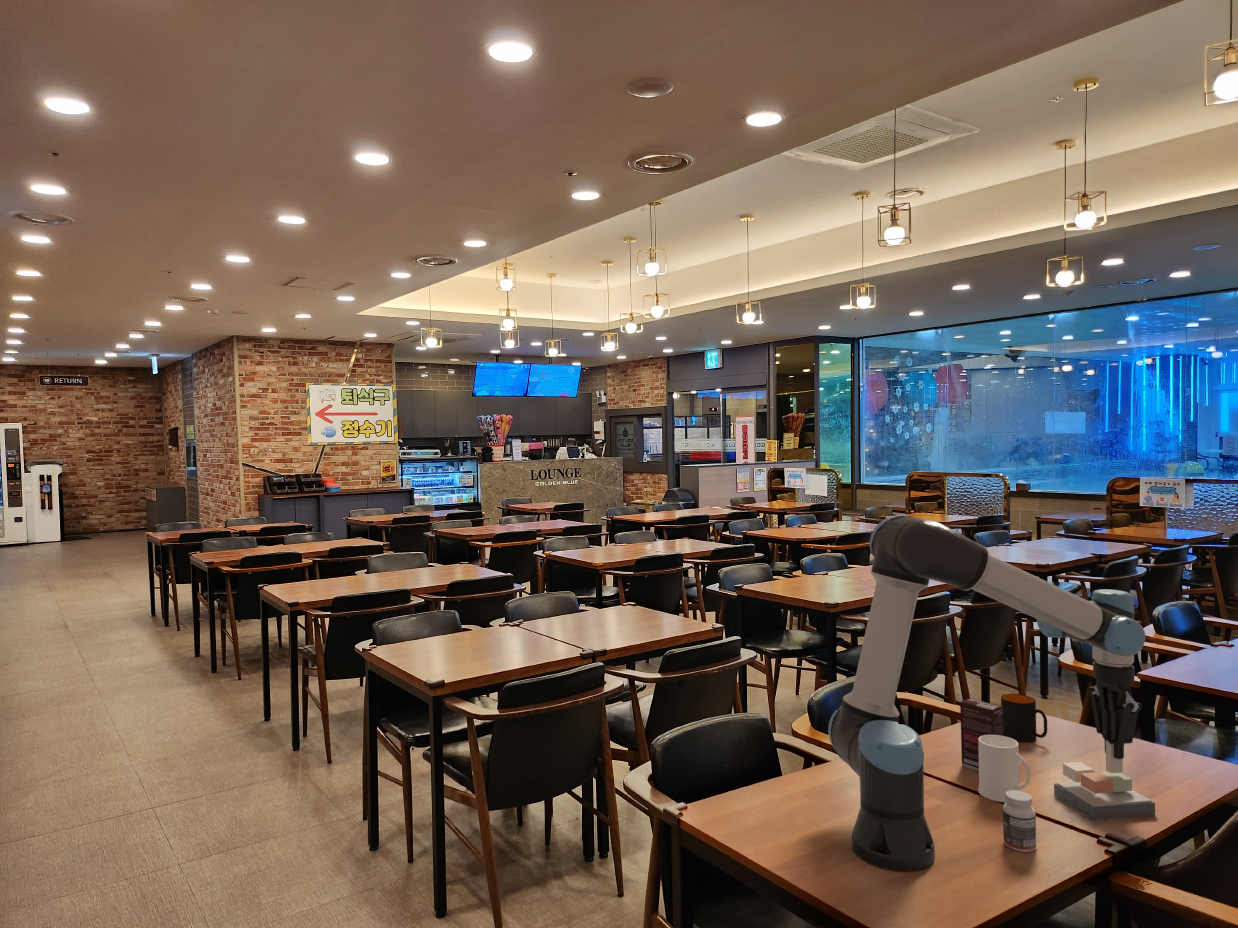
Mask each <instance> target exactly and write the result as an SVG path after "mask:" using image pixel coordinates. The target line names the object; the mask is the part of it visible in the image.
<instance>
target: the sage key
mask: <svg viewBox="0 0 1238 928" xmlns="http://www.w3.org/2000/svg"><path fill="white" fill-rule="evenodd" d="M1099 773H1101V774H1103V775H1105V776H1107V777H1109V778H1110V779H1112V780H1114V792H1123V791H1132V790H1133V779H1132V778H1131V777H1129V776H1126V775H1125V774H1123V773H1110V772H1108V771H1104V772H1103V771H1101V772H1100V771H1099Z"/></svg>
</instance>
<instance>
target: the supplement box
mask: <svg viewBox="0 0 1238 928" xmlns="http://www.w3.org/2000/svg"><path fill="white" fill-rule="evenodd" d="M959 706H960V708H959V711H960V712H959V713H960V744H961V745H960V746H961V766H962V767H963V768H966V769H967V768H968V769H970V770H974V771H977V772H979V744H978V739H979V737H980V736H983V735H1000V736H1004V730H1003V706H1001V705H999V704H995V703H990V702H986V701H983V700H979V699H975V698H966V699H964V700H961V701H960V702H959Z"/></svg>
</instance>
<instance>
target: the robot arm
mask: <svg viewBox="0 0 1238 928" xmlns="http://www.w3.org/2000/svg"><path fill="white" fill-rule="evenodd" d="M869 549H870V552H871V555H872V556H873V561H872V566H871V572H870V573H871V575H872V576H873V578H874V580H875V587H874V592H873V597H872V600H871V604H870V605H871V606H870V611H869V615H868V619H867V624H866V628H865V633H864V637H863V642H862V645H861V646H862V647H861V651H860V656H859V659H858V665H857V669H856V673H855V678H854V681H853V682H854V683H853V686H852V687H853V688H852V690H851V691H850V692H848V693H847V694H845V695H843V697H842V702H841V705H840V707H839V708H838V709H836V710H835V711H834V712H833V713H832V715H831V717H830V719H829V722H828V730H827V731H828V732H827V733H828V738H829V741H830V744H831V746H832V748H833V749H834V751H835V753H836V754H837V755H838V757H839V758H840V759H841V760H842V761H843V762H844V763H846V765H848V766H849V767H850V769H851V770H853V771H854V773H855V774H856V775H857V776H858V777H859V794H860V798H859V799H860V808H859V810H858V815H857V817H856V820H855V824H854V826H853V829H852V833H851V847H852V850H853V852H854V854H856V856H858V857H859V858H860V859H861V858H862V859H861V860H863V861H865V862H866V863H868V864H870V865H873V866H875V867H879V868H882V869H886V870H890V871H898V872H899V871H901V872H903V871H904V872H907V871H908V872H909V871H910V872H912V871H919V870H923V869H925V868H927V867H930V866H931V865H932V864H933V863H934V862H935V859H936V858H935V857H936V854H935V853H936V851H935V850H936V847H935V842H934V839H933V836H932V833H931V830H930V828H929V825H928V823H927V819H926V815H925V798H924V797H925V791H924V790H925V789H924V788H925V787H924V786H925V784H924V782H925V781H924V780H925V779H924V777H925V775H924V772H925V770H924V762H925V752H924V749H923V742H922V738H921V737H920V735H919V734H918V733H917V732H916V731H915V730H914V729H913V728H912V727H910V726H908V725H905V724H899V718H900V714H901V713H900V712H899V710H898V709H897V707H896V705H895V701H896V696H897V692H898V688H899V687H898V686H899V682H900V677H901V673H902V668H903V664H904V660H905V654H906V651H907V647H908V642H909V638H910V634H911V633H910V632H911V627H912V623H913V619H914V615H915V610H916V606H917V601H918V597H919V594H920V592H922V591H923V590H924V589H926V588H928V587H929V583H930V580H932V581H936V582H941V583H943V584H946V585H949V586H952V587H955V588H956V589H959V590H961V591H970V590H973V591H975V592H977V593H979V594H982V595H984V596H986V597H989V598H990V599H992V600H995V601H997V602H1000V604H1004V605H1006V606H1007V607H1010V608H1012V609H1015V610H1016V611H1018V612H1021V613H1022V614H1025V615H1028V616H1030V617H1032V618H1033V619H1036V624H1037V627H1038V628H1039V631H1040V632H1041V634H1043V635H1044V636H1045V637H1048V638H1055V639H1056V638H1057V639H1061V638H1063V639H1064V638H1067V639H1071V640H1075V641H1077V642H1080V643H1083V644H1086V645H1089V646H1092V659H1094V661H1093V662H1092V677H1093V678H1094V679H1095V680H1096V682H1095V685H1094V686H1088V687H1087V692H1088V694H1089V697H1090V701H1091V707H1092V713H1093V719H1094V724H1095V729H1096V732H1097V734H1099V735H1100V734H1101V736H1102V738H1103V740H1104V752H1105V772H1110V773H1121V774H1123V772H1124V771H1123V768H1124V765H1123V764H1124V763H1123V762H1124V758H1125V744H1126V745H1127V744H1132V743H1133V740H1134V734H1135V730H1136V725H1137V720H1138V716H1139V712H1140V710H1141V709H1142V707H1143V705H1142V703H1141V702H1136V701H1135V699H1134V698H1133V692H1132V690H1131V686H1132V684H1134V682H1135V666H1134V665H1133V664H1134V663H1135V655H1137V654H1138V653H1139V652H1141V651H1142V649H1143V647H1144V646H1145V643H1146V632H1145V630H1144V627H1143V626H1142V625H1141V623H1140V622H1138V621H1136V620H1135V608H1134V606H1135V605H1134V598H1133V596H1132V594H1131V593H1129V592H1127V591H1123V590H1118V589H1103V588H1102V589H1101V588H1100V589H1095V590H1094V591H1092V596H1091V600H1087V599H1085V598H1083V597H1081V596H1079V595H1076V594H1074V593H1072V592H1070V591H1068V590H1066V589H1064V588H1062V587H1060V586H1058V585H1056V584H1053V583H1051V582H1049V581H1047V580H1045V579H1042V578H1040V577H1038V576H1036V575H1034V574H1031V573H1029V572H1028V571H1025V570H1023V569H1021V568H1018V567H1017V566H1014V565H1013V564H1011V563H1008V562H1006V561H1004V560H1003V559H1000V558H997V557H995V556H994V555H991V554H990V553H989V550H988V548H987V547H986V546H984V545H983V544H980V543H978V542H976V541H974V540H972V539H970V538H969V537H966V536H965V535H964V534H961V533H959V532H958V531H956V530H954V529H952V528H950V527H948V526H947V525H945V524H943V523H941V522H938V521H936V520H931V519H926V518H925V519H924V518H918V517H914V516H911V515H904V514H903V515H894V516H890V517H887V518H885V519H883V520H882V521H880V522H879V523H878V524H876V526H875V527H874V529H873V530H872V532H871V533H870V538H869Z"/></svg>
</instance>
